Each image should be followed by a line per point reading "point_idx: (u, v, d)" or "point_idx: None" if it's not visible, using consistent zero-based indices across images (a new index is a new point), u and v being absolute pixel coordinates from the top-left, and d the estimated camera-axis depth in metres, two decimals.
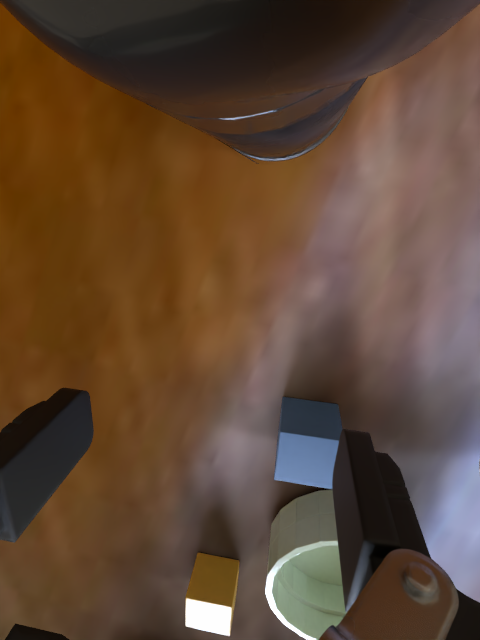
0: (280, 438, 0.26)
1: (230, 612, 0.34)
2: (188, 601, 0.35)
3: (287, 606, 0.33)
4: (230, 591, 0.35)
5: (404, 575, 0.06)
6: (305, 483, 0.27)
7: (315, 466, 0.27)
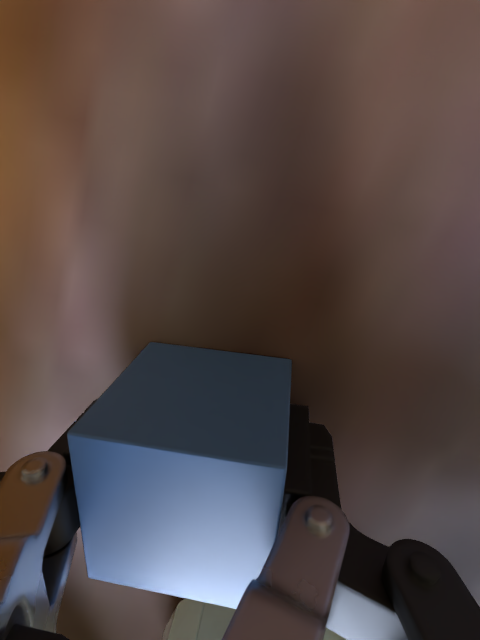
0: (73, 456, 0.08)
1: None
2: None
3: None
4: None
5: (306, 514, 0.07)
6: (176, 594, 0.09)
7: (199, 547, 0.08)
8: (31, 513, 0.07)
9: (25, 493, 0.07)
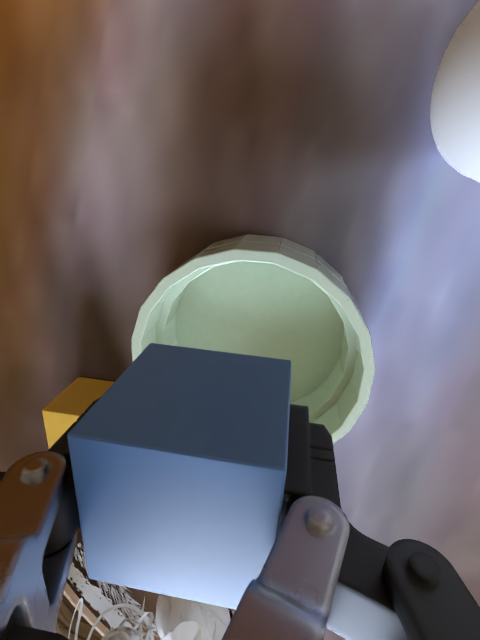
0: (73, 457, 0.08)
1: None
2: (46, 416, 0.25)
3: None
4: None
5: (307, 514, 0.07)
6: (177, 595, 0.09)
7: (199, 548, 0.08)
8: (31, 513, 0.07)
9: (25, 494, 0.07)
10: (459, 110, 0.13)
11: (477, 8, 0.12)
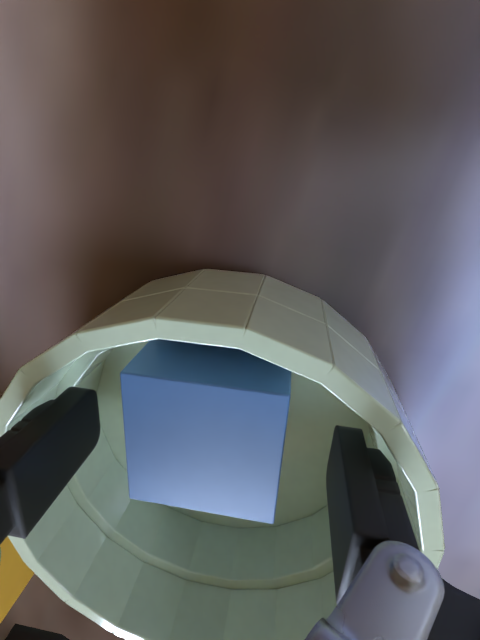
0: (124, 391, 0.10)
1: None
2: None
3: (86, 562, 0.14)
4: None
5: (392, 565, 0.06)
6: (201, 509, 0.11)
7: (221, 466, 0.10)
8: None
9: None
10: None
11: None
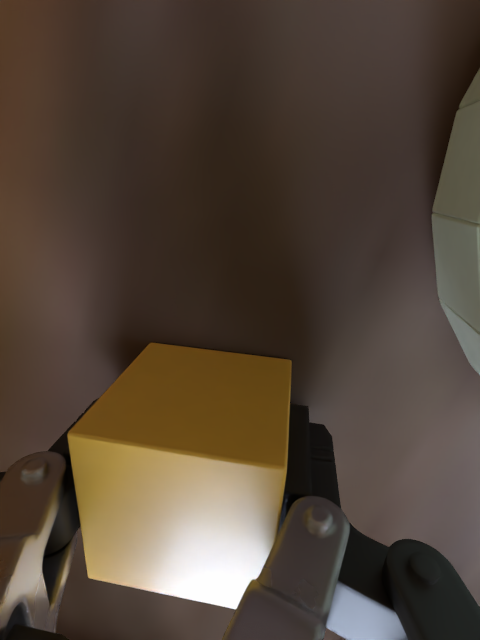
0: None
1: (276, 499, 0.07)
2: (82, 454, 0.08)
3: None
4: (269, 421, 0.08)
5: (306, 514, 0.07)
6: None
7: None
8: (31, 513, 0.07)
9: (25, 493, 0.07)
10: None
11: None
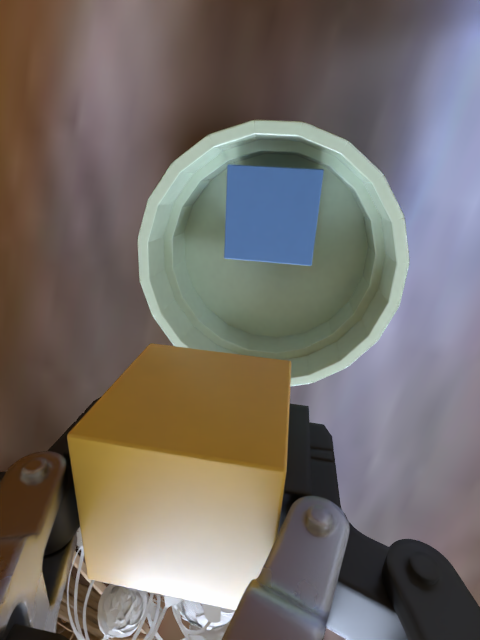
0: (228, 178, 0.18)
1: (275, 500, 0.07)
2: (81, 455, 0.08)
3: (185, 330, 0.22)
4: (268, 422, 0.08)
5: (306, 514, 0.07)
6: (268, 260, 0.19)
7: (282, 225, 0.18)
8: (31, 513, 0.07)
9: (25, 493, 0.07)
10: None
11: None
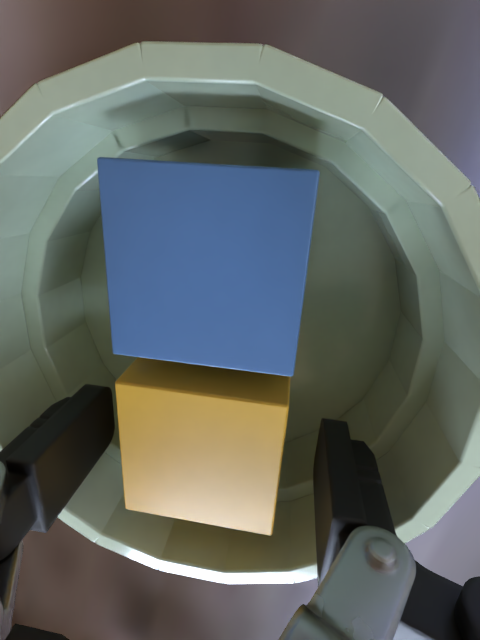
0: (103, 188, 0.08)
1: (280, 431, 0.09)
2: (126, 399, 0.10)
3: None
4: (274, 375, 0.10)
5: (367, 548, 0.07)
6: (202, 362, 0.09)
7: (227, 294, 0.08)
8: None
9: None
10: None
11: None
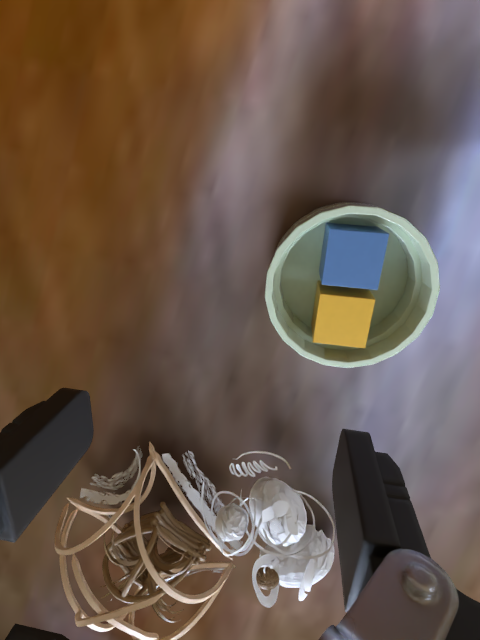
0: (329, 236, 0.29)
1: (372, 308, 0.30)
2: (322, 299, 0.31)
3: (287, 329, 0.33)
4: (367, 293, 0.31)
5: (404, 575, 0.06)
6: (350, 286, 0.30)
7: (361, 265, 0.29)
8: None
9: None
10: None
11: None
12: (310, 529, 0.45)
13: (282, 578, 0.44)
